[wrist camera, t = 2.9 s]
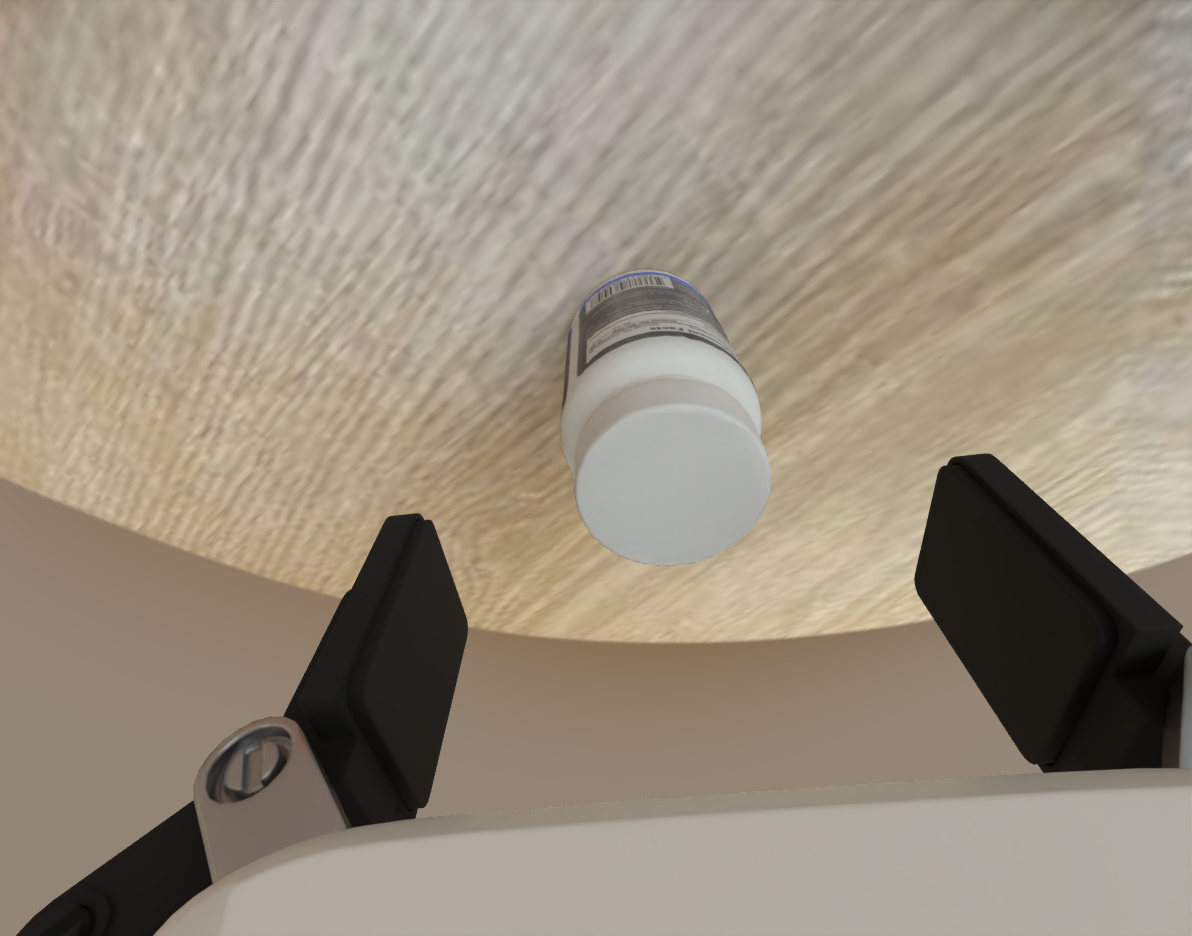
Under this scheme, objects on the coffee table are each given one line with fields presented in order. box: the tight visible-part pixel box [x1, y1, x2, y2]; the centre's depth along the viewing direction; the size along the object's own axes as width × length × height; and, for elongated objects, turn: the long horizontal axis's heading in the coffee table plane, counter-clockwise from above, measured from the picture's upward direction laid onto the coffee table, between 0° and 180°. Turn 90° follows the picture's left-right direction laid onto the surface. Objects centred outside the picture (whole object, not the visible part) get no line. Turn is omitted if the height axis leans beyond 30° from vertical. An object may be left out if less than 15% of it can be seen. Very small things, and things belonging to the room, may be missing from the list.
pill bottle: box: [561, 269, 771, 566], centre depth 15 cm, size 5×5×8 cm
